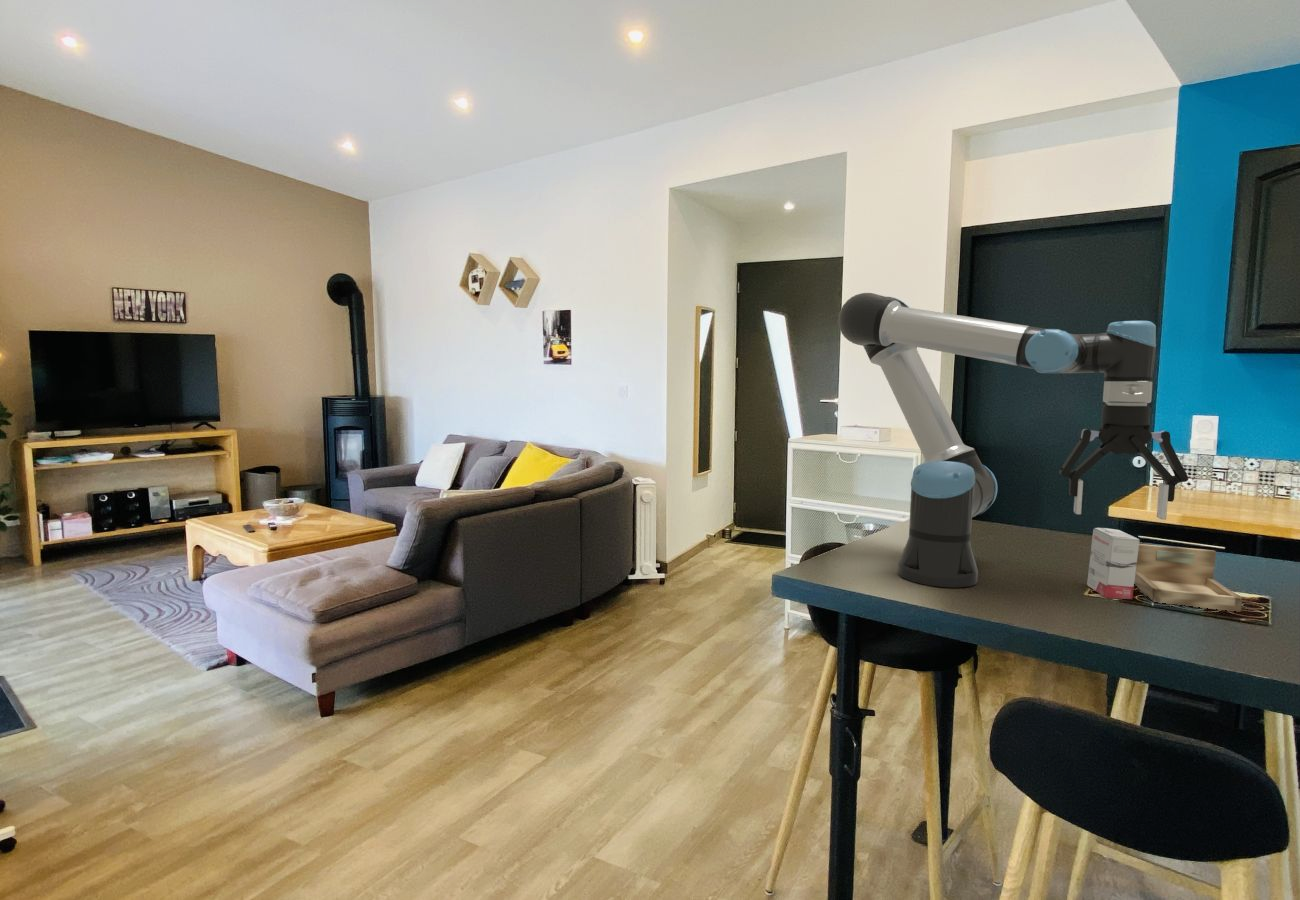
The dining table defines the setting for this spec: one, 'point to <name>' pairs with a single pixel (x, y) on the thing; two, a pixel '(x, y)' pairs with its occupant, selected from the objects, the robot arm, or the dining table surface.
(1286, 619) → the dining table surface
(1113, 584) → the ink box
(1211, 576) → the drawer
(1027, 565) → the dining table surface
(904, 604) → the dining table surface
